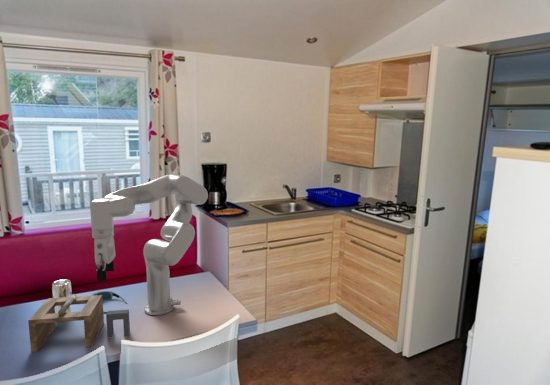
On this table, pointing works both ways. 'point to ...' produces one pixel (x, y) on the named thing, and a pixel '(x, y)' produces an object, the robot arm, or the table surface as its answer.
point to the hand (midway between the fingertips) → (106, 275)
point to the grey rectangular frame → (117, 316)
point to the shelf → (66, 318)
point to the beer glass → (62, 291)
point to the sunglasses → (107, 295)
